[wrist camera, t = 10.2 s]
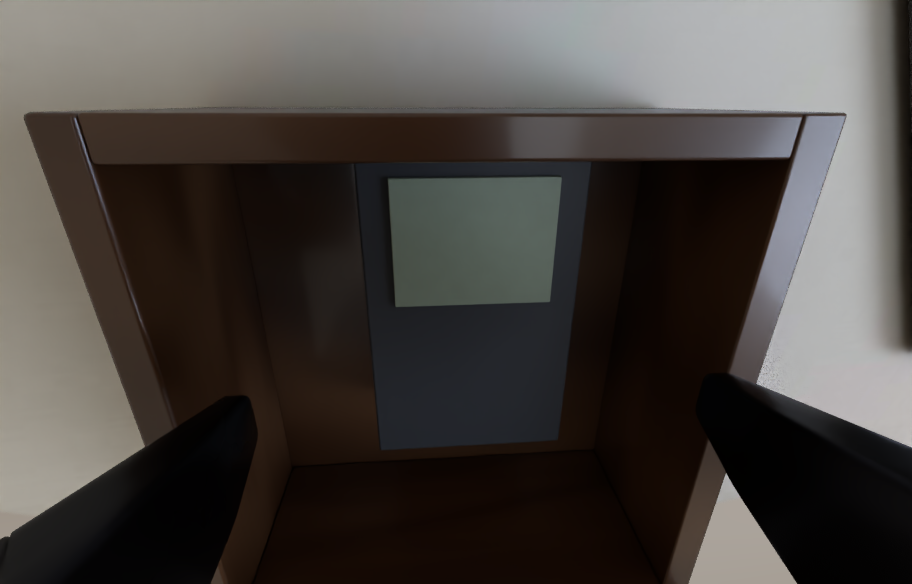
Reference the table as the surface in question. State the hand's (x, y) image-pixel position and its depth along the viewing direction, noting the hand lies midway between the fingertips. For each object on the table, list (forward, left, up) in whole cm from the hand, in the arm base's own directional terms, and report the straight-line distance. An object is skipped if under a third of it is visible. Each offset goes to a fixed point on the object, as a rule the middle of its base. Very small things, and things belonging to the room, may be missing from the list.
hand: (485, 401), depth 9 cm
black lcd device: (0, 0, -6) cm, 6 cm away
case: (-2, 0, -7) cm, 7 cm away
